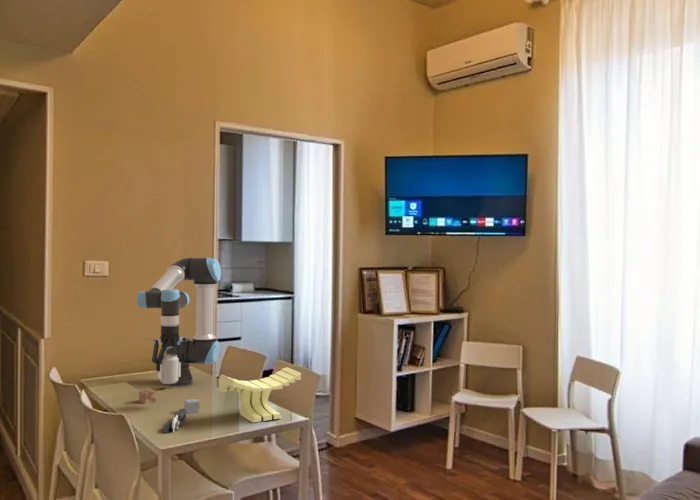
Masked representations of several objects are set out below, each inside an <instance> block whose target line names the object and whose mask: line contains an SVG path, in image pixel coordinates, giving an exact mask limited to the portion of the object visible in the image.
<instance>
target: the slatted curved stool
mask: <svg viewBox="0 0 700 500" xmlns="http://www.w3.org/2000/svg"><path fill="white" fill-rule="evenodd" d="M298 380H299V381H300V380H302V372H299V371H297V370H295V369H292V368H290V367H288V366H287V367H284V368H281V369H280V370H279V371H275V373H273V374H270V375H269V376H267V377H262V378H259V379H253V380H240V379H239V380H238V379H236V378H232V377H229V376H226V375H224V374H220V375H219V378H218V392H220V393H222V394H224V393H227V392H228V391H229V392H235V391H236V392H237V395H238V398H239V402H240V407H239V414H240V416H241V417H243V418H245V419H246V420H248V421H249V422H250V423H258V422H265V421H271V420H272V421H273V420H277V419H283V417H282V415H281V413H280V412H278V411H276V410H275V409H273V408H272V407H271V406H270V404H269V397H270V394H271V392H272V391H273V390H282V389H284V387H286V386H287V387H288V386H290V384H294V383H296V381H298ZM283 386H284V387H283Z"/></svg>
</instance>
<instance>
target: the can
mask: <svg viewBox="0 0 700 500" xmlns="http://www.w3.org/2000/svg"><path fill="white" fill-rule="evenodd" d="M161 364H162V379H159V382H161V384H162V383H163V384H162V385H164V384H174V383H176V382H177V381H178V368H179V358H178V357H177V355H176V354H166V353H164V355H163V358H162V361H161Z"/></svg>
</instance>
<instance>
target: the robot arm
mask: <svg viewBox="0 0 700 500" xmlns="http://www.w3.org/2000/svg"><path fill="white" fill-rule="evenodd" d="M221 276H222V270H221V264H220V262H219V261H218V259H216V258H212V257H185V258H180V259H179V260H177V261H175V262H173V263H171V265H169V266H168V267H167V269H166V270H165V273H164V274H163V275H162V276H161V277H160V278H159V279H158V281H156V282H155V283H154V284H153V285H152V286H151V287H150V288H149V289H148V290H142V291H139V292H138V294H137V295H136V304H137V307H139V308H142V309H160V324H161V325H160V337H159V338H157V339H153V340H152V341H153V350H152V356H151V362H152V363H153V364H155V371H156V372H157V377H158V379H159V380H160V379H162V364H161V361H162V358H163V355H165V354H176V355H177V357H178V358H179V368H178V381H177V382H176V383H174V384H163V383H162V382H161V384H162V385H164V386H169V387H179V386H188V385H191V384H193V382H194V381H193V380H194V379H193V378H194V377H193V375H192V372H191V368H190V365H191V364H192V365H193V364H196V365H197V364H199V365H200V364H201V365H214V364H215V363H216V362H217V360H218V358H219V354H220V347H221V344H220V342H219V341H218V340H217V336H215V334H214V301H215V298H214V295H215V287H216V286H217V284H218V282H219V281H220V280H221V278H222V277H221ZM183 281H193V285H194V287H195V288H196V303H195V305H196V307H195V308H196V310H195V315H196V316H195V335H194V336H193V337H192V340H191V338H190V337H189V336H187V337H186V336H185V337H184V336H181V335H179V334H180V326H179V324H180V310H181V309H184V308H186V307H187V306H188V305H189V304H190V296H189V294H188V293H187V292H185V291H180V290H179V289H176V288H175V286H177V284H180V283H182V282H183ZM160 343H161V347H160ZM159 347H160V350H159Z"/></svg>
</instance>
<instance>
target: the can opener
mask: <svg viewBox="0 0 700 500" xmlns="http://www.w3.org/2000/svg"><path fill="white" fill-rule="evenodd" d="M185 420H187V414H186V409H184V408H183V407H182V408H179V410H177V412H176V413H175V414H174V418H173V419H172V421H167V422H165V423H164V424H163V425H162V432H163V433H165V434H169V433H170V432H171V431H172V433H174V432H178V430H179V427H182V426H183V424H184V423H185Z"/></svg>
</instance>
